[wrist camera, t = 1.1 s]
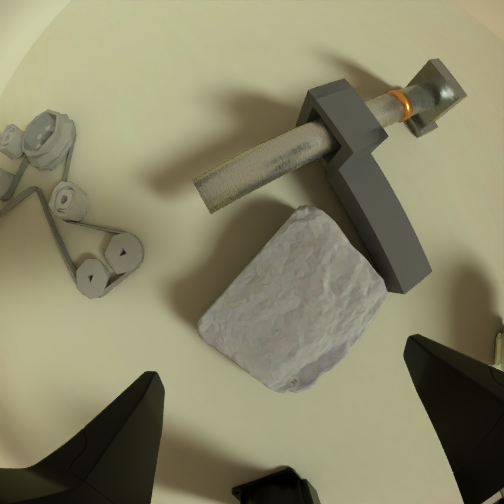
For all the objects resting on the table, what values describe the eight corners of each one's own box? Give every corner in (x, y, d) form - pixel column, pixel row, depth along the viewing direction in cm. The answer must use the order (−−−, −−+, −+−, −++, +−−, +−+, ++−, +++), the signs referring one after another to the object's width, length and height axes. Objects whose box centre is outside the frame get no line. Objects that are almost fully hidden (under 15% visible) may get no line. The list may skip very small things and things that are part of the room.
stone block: (373, 278, 22) (292, 197, 21) (406, 291, 18) (315, 190, 16) (283, 382, 22) (189, 316, 20) (299, 415, 17) (184, 342, 16)
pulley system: (7, 123, 22) (-33, 233, 20) (-12, 108, 17) (-57, 227, 15) (188, 142, 23) (136, 310, 21) (179, 114, 18) (113, 317, 16)
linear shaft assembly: (226, 239, 20) (215, 224, 13) (194, 182, 20) (172, 145, 13) (433, 129, 21) (473, 99, 14) (406, 90, 22) (438, 53, 15)
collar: (387, 291, 19) (428, 297, 14) (294, 129, 20) (308, 90, 14) (414, 271, 19) (457, 271, 14) (324, 116, 20) (344, 78, 15)
